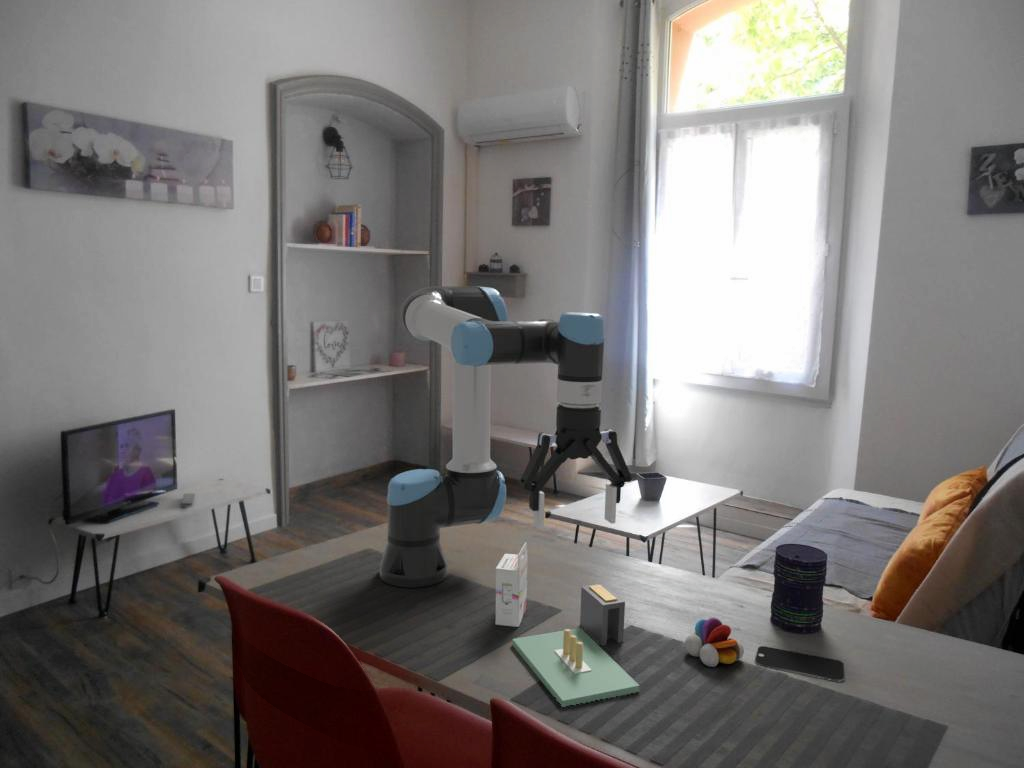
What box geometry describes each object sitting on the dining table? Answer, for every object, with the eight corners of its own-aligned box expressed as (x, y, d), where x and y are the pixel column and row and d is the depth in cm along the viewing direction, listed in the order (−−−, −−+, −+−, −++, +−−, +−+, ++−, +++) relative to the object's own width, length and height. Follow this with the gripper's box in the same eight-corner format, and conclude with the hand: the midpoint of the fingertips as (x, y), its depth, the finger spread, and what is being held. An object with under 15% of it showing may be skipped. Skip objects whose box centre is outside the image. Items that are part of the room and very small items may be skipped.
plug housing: (579, 624, 154) (581, 584, 153) (600, 621, 156) (602, 581, 154) (601, 645, 146) (603, 603, 144) (623, 641, 147) (625, 600, 146)
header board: (512, 645, 145) (512, 616, 144) (580, 633, 150) (581, 605, 149) (562, 707, 125) (563, 674, 124) (639, 692, 130) (640, 660, 129)
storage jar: (778, 608, 163) (783, 540, 161) (827, 621, 158) (833, 550, 156) (762, 625, 155) (768, 553, 153) (814, 640, 150) (820, 565, 147)
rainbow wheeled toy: (713, 675, 136) (716, 636, 135) (677, 650, 145) (679, 613, 144) (749, 664, 140) (752, 626, 139) (712, 641, 148) (715, 605, 147)
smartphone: (758, 644, 147) (844, 661, 141) (757, 648, 147) (844, 664, 141) (753, 663, 140) (844, 681, 134) (753, 667, 140) (844, 685, 134)
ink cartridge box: (503, 606, 161) (504, 538, 159) (526, 609, 160) (528, 540, 158) (493, 625, 153) (495, 553, 151) (518, 628, 152) (520, 555, 150)
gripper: (517, 411, 125) (514, 538, 128) (654, 405, 133) (648, 524, 137) (502, 403, 132) (499, 524, 135) (633, 397, 140) (628, 511, 144)
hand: (574, 524), depth 136 cm, fingers open, 13 cm apart
